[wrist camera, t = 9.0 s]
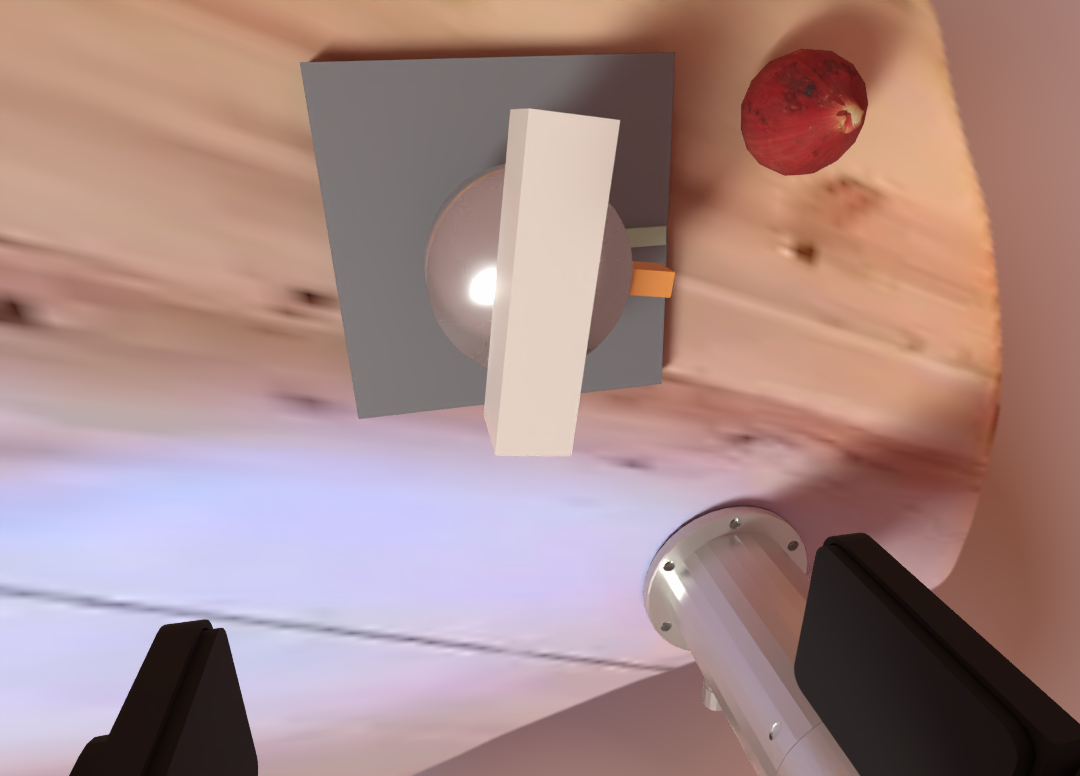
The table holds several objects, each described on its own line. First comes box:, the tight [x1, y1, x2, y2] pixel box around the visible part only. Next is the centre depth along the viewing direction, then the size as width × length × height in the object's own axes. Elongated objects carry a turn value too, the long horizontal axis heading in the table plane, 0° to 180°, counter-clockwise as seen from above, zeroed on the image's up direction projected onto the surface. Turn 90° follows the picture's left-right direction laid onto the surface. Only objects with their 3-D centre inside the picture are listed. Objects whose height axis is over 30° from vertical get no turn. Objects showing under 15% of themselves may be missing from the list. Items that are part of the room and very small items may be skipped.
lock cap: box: [424, 108, 675, 456], centre depth 28 cm, size 11×13×7 cm
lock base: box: [300, 52, 675, 419], centre depth 33 cm, size 18×18×6 cm
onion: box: [741, 49, 868, 175], centre depth 32 cm, size 6×6×8 cm
